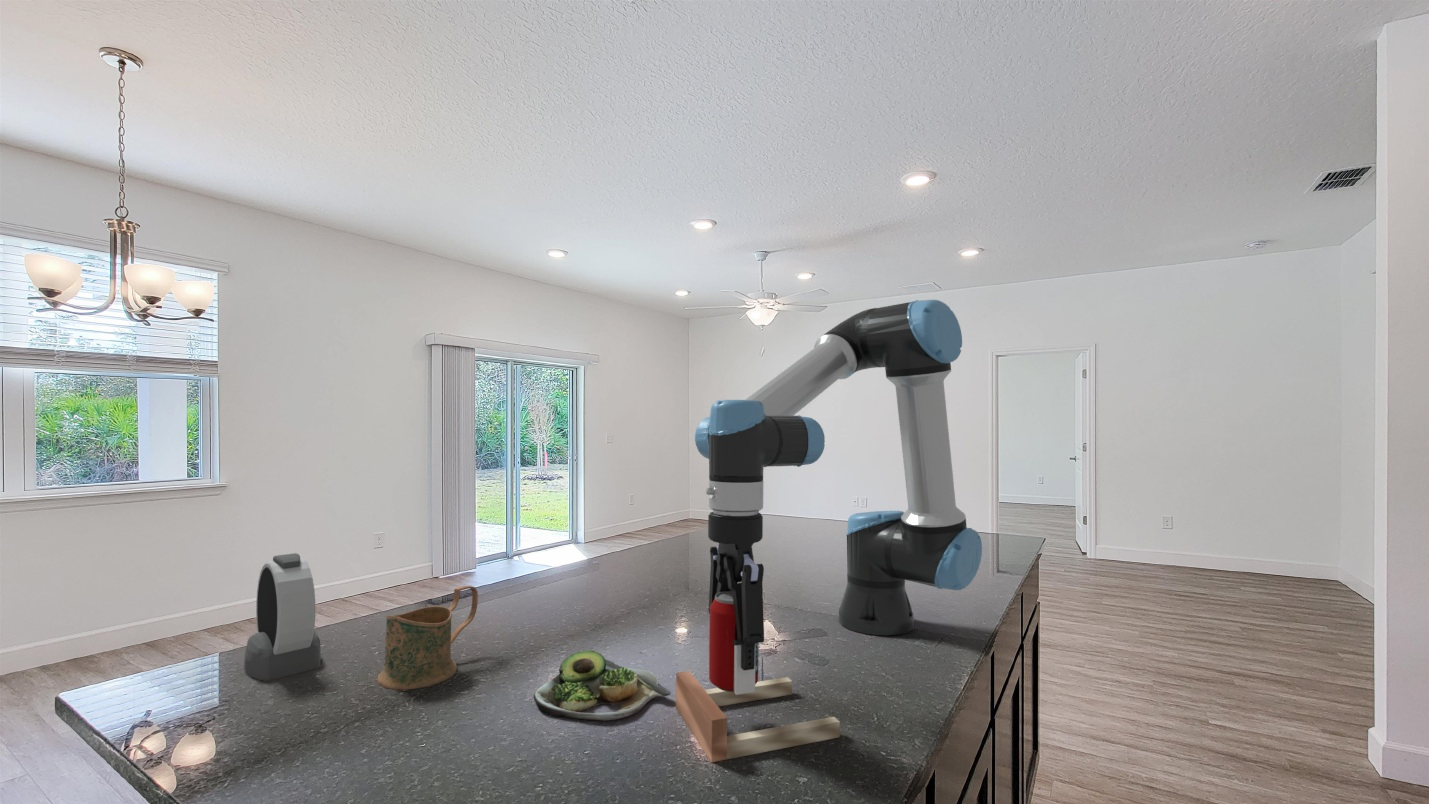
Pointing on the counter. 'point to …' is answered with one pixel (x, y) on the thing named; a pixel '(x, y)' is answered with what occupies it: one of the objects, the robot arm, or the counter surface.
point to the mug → (422, 645)
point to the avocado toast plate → (597, 688)
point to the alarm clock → (284, 621)
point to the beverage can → (724, 642)
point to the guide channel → (713, 739)
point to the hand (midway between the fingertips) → (733, 680)
